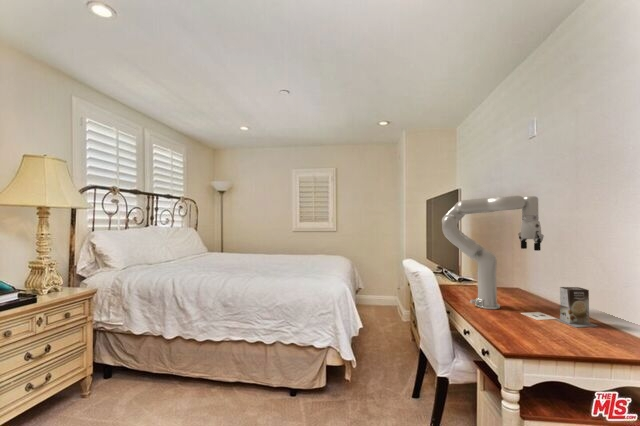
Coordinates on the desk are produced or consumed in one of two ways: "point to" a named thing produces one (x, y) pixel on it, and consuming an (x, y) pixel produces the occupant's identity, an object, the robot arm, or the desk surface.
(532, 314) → the card
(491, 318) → the desk surface
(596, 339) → the desk surface
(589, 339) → the desk surface
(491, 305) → the robot arm
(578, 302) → the coffee box
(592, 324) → the mat
